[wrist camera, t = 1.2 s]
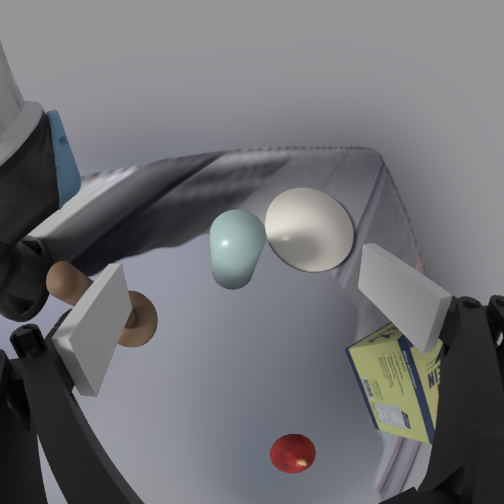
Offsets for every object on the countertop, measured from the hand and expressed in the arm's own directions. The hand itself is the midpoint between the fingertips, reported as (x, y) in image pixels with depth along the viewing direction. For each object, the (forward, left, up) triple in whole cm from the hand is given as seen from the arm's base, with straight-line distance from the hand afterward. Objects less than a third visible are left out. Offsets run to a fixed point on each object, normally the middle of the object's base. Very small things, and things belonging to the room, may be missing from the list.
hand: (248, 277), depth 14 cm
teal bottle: (0, +9, -25) cm, 27 cm away
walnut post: (-14, 0, -25) cm, 29 cm away
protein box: (+25, -7, -25) cm, 36 cm away
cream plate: (+12, +17, -25) cm, 32 cm away
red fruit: (+9, -17, -25) cm, 32 cm away
